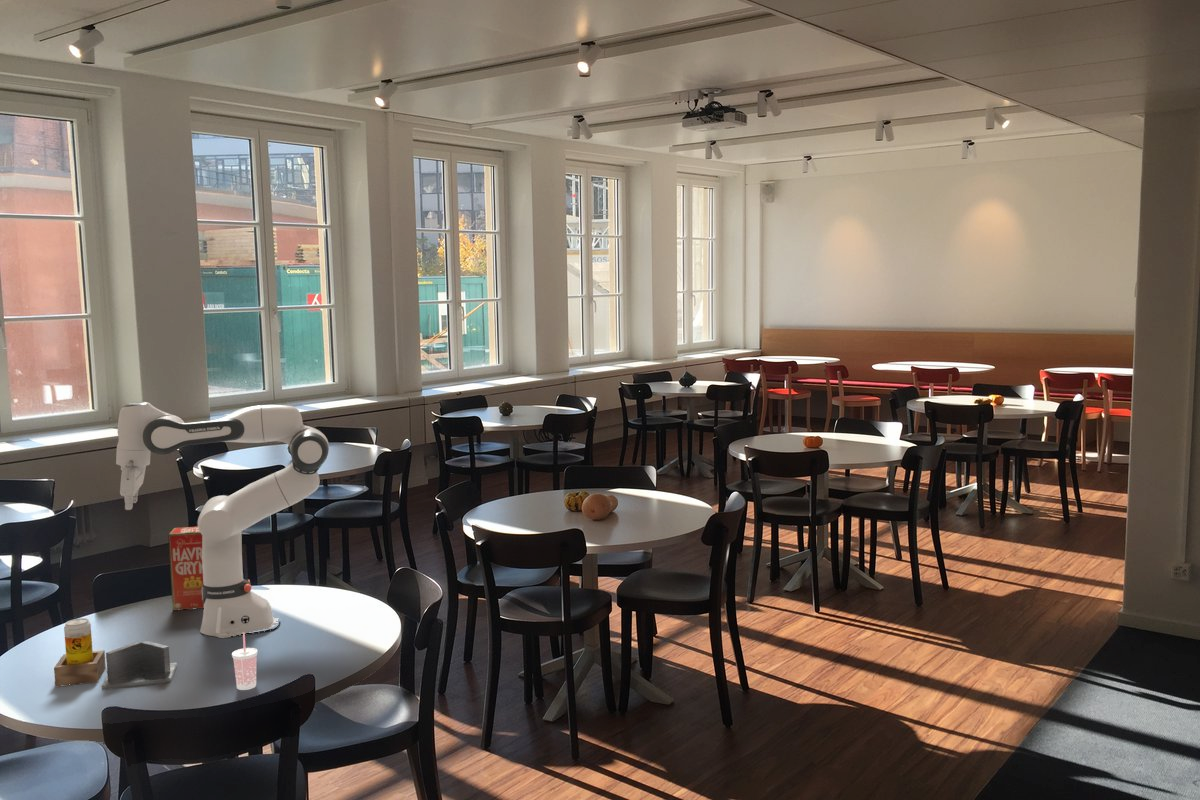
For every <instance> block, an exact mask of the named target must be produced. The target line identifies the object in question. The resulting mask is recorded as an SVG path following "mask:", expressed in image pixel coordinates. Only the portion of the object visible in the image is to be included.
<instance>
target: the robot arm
mask: <svg viewBox="0 0 1200 800" xmlns="http://www.w3.org/2000/svg"><path fill="white" fill-rule="evenodd" d="M117 422H118V423H117V436H118V442H117V445H116V458H115V459H116V460H115V464H116V465H117V466H120V470H121V474H120V475H121V476H120V488H119V494H120V496H121V497H124V510H125V511H131V510H132V509H133V506H134V505H133V504H136V503H137V502H138V494H139V490H140V488H141V487H142V485H143V484H144V480H145V475H146V468H147V467H148V466H149V465H150V464H151V453H154V454H156V455H169V454H171V453H173V452H175V451H177V450H179V449H181V448H184V447H187V446H188V447H189V446H193V445H194V446H195V445H202V444H211V443H212V444H213V443H222V442H223V443H227V442H228V443H242V444H243V443H244V444H261V443H269V442H281V443H285V444H286V445H288V446H289V451H290V455H291V456H290V457H291V463H290V464H289V465H287V466H285V467H284V468H282V469H280V470H278V471H275V472H273V473H270V474H268V475H266V476H264V477H262V478H259V479H258V480H256V481H253V482H251V483H249V484H247V485H245V486H244V487H243V488H241V489H239V490H237V491H235V492H234V493H232V494H230V495H224V494H223V495H217V496H213V497H211V498H209V499H208V500H207V501H206V503H205V504H204V505H203V507H202V510H200V513H199V516H198V518H197V527H198V528H199V531H200V533H201V534H202V568H203V585H202V600H203V603H204V609H203V612H202V621H201V625H200V630H199V632H200V633H201V634H203V635H206V636H210V637H217V638H219V639H227V638H232V637H231V636H233V637H237V636H236V635H239V636H242V635H241V634H243V633H249V632H253V631H258V630H263V629H269V628H272V627H274V626H276V625H277V624H276V625H271V624H274V623H278V622H276V621H278V619H279V618H274V617H273V615H272V614H273V610H272V606H271V605H270V604H271V603H270V602H269V601H268V599H266V598H264V597H262V596H261V595H259V594H257V593H255V592H253V591H252V585H251V581H250V579H245V578H244V573H243V554H242V553H243V548H242V547H243V546H242V545H243V544H242V543H243V542H242V539H243V538H242V536H243V535H242V532H243V531H244V530H247V529H248V528H250V527H251V526H254V525H255V524H256V523H259V522H260V521H262V520H264V519H266V518H267V517H270V516H271V515H274V514H276V513H278V512H280V511H283V510H284V509H287V508H289V507H291V506H293V505H296V504H297V503H299V502H301V501H303V500H304V499H306V498H308V497H309V496H310V495H312V494H314V493H315V492H316V491H317V490H318V489H319V487H320V483H321V482H320V481H321V480H320V479H321V478H320V475H319V473H318V471H319V470H320V468H321V467H322V466H323V465H324V463H325V461H326V460H327V457H328V455H329V450H330V448H329V447H330V445H329V441H328V438H327V437H326V435H325V434H324V433H323V431H322V430H320V429H318V428H317V427H314V426H312V425H310V424H307V423H305V422H304V421H303V417H302V413H301V412H300V410H299V409H298V408H297V407H295V406H293V405H287V404H259V405H252V406H251V405H250V406H247V407H242V408H239V409H236V410H235V411H233V412H231V413H229V414H227V415H225V416H223V417H220V418H218V419H213V420H204V421H195V422H193V421H192V422H185V421H184V420H183V419H182V418H181V417H180V416H178V415H174V414H171V413H168V412H166V411H163V410H161V409H158V408H157V407H155V406H154V405H152V404H151V403H150V402H147V401H138V402H132V403H128V404H125V405H123V407H121V409H120V410H119V415H118V420H117Z"/></svg>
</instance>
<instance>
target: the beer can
mask: <svg viewBox="0 0 1200 800" xmlns="http://www.w3.org/2000/svg"><path fill="white" fill-rule="evenodd" d="M63 631H64V632H63V633H64V643H65V645H64V646H65V654H66V660H67V665H70V664H80V663H89V662H93V641H92V638H93V637H92V623H91V621H89V618H86V617H85V618H74V619H70V620H67V621H66V622H65V625H64V628H63Z"/></svg>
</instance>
